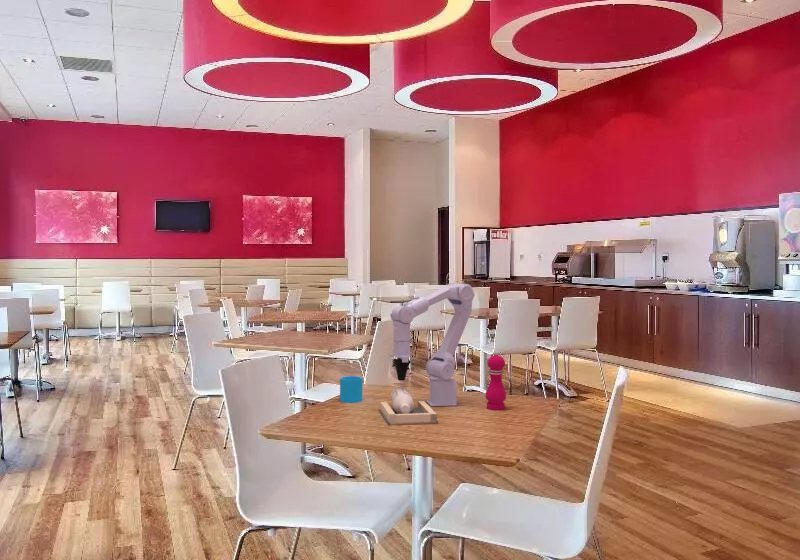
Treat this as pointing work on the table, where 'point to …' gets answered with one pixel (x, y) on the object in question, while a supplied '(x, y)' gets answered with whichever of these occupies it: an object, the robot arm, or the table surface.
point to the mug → (351, 389)
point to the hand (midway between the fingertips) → (401, 380)
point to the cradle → (409, 415)
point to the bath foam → (402, 401)
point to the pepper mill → (496, 383)
